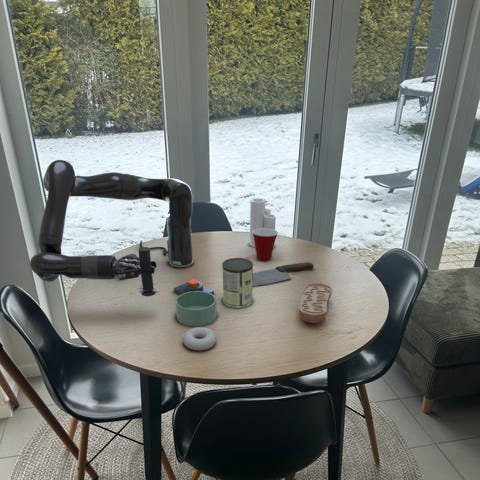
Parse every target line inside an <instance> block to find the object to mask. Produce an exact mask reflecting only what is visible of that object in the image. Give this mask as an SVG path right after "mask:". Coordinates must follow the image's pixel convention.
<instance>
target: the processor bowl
mask: <svg viewBox="0 0 480 480" xmlns="http://www.w3.org/2000/svg"><path fill="white" fill-rule="evenodd" d="M174 301H175V312H176V314H175V315H176V320H177V322H179V323H180V324H182V325H184V326H187V327H188V326H189V327H203V326H206V325H210V324H212V323H213V322H214V321H215V320H216V319H217V313H218V312H217V310H218V309H217V306H218V305H217V298H216V296H215V294H214V295H213V294H211V293H208V292H204V291H190V292H186V293H183V294H181V295H179V294H178V295H177V296H176V298H175V300H174Z"/></svg>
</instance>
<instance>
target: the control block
mask: <svg viewBox="0 0 480 480" xmlns="http://www.w3.org/2000/svg"><path fill="white" fill-rule="evenodd" d="M198 283H199V286H198V287H194V288H192V287H189V286H188V281H187V282H185V283H183V284H180V285H177V286H175V287H173V292H174V293H175V294H177V295H178V296H179V295H181V294H183V293H186V292H190V291H204V292H208V293H211V294H213V295H214V296H215V291H214V290H213V289H211V288H209V287H206V286H204V284H203V282H201V281H199V280H198Z"/></svg>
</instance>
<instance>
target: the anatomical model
mask: <svg viewBox="0 0 480 480" xmlns="http://www.w3.org/2000/svg"><path fill="white" fill-rule="evenodd" d="M301 291H302V292H301V293H300V295H299V298H298V307H297V308H298V314H299V316H300V318H301V319H302V320H303V321H305V322H307V323H309V324H316V323H320V322H321V321H322V320H324V319H325V318H326V315H327V313H328V301H329V300H330V298H331V297H332V294H333V288H332V287H331V286H330V285H328V284H326V283H321V282H320V283H317V282H316V283H315V282H314V283H309V284H307V285H306V286H305V287H304V288H303V290H301Z"/></svg>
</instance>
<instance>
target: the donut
mask: <svg viewBox="0 0 480 480" xmlns="http://www.w3.org/2000/svg"><path fill="white" fill-rule="evenodd" d="M182 342H183V344H184V346H185V347H186V348H188V349H190V350H193V351H206V350H209V349H211V348H212V347H214V345H215V344H216V343H217V334H216V333H215V331H214V330H213V329H210V328H209V327H203V326H195V327H193V328H190V329H188V330H186V331H185V333H184V334H183V336H182Z"/></svg>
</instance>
